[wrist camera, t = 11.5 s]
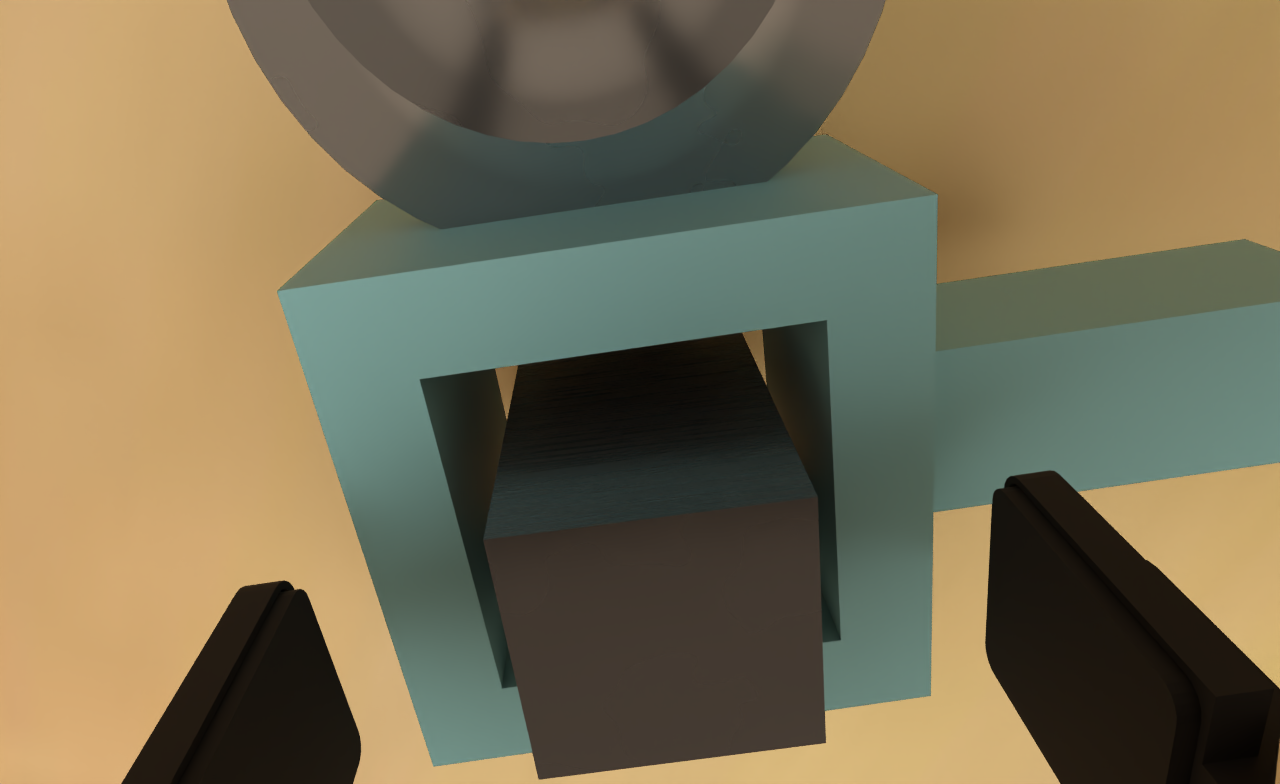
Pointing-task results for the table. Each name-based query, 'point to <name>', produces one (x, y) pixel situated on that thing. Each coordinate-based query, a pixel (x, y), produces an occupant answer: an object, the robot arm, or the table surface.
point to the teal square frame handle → (796, 379)
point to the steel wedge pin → (656, 560)
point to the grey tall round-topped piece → (556, 94)
